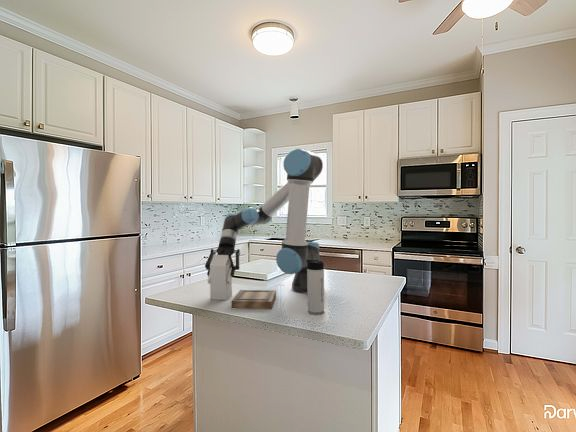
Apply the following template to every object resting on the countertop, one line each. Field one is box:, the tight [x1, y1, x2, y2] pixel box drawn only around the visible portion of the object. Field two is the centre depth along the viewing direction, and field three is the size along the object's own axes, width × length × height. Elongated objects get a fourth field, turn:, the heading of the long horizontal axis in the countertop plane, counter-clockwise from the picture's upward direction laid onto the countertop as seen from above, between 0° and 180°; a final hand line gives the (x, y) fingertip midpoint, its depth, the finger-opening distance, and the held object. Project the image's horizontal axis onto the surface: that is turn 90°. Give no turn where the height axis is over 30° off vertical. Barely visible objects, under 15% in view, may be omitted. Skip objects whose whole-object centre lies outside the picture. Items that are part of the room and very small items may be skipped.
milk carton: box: [209, 254, 233, 301], centre depth 136 cm, size 7×7×19 cm
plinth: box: [230, 289, 277, 310], centre depth 129 cm, size 16×16×3 cm
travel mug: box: [306, 260, 325, 316], centre depth 116 cm, size 6×7×20 cm
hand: (218, 282), depth 132 cm, fingers closed on milk carton, 8 cm apart
